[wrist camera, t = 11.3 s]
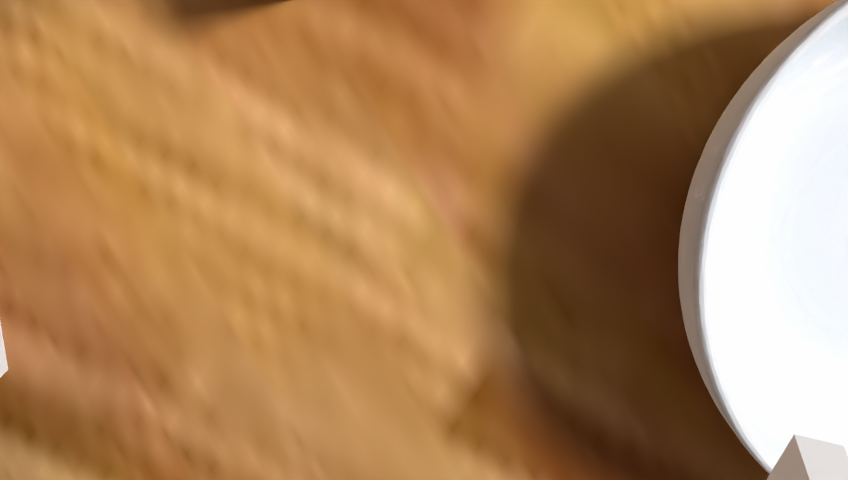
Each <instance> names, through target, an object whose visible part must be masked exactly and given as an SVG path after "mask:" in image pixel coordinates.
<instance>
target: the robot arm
mask: <svg viewBox="0 0 848 480" xmlns="http://www.w3.org/2000/svg"><path fill="white" fill-rule="evenodd" d="M7 370H8V366H7V360H6V354H5V348H4V342H3V336H2V329H1V323H0V378H1V376H2V375H3V374H4V373H5V372H6V371H7ZM766 480H848V455H847V453H846V450H845V448H844V446H842V445H838V444H834V443H830V442H826V441H821V440H817V439H813V438H809V437H804V436H800V435H796V434H794V435H793V437H792V438H791V440H790V442H789V443H788V445H787V447H786V448H785V450H784V452H783V453H782V455H781V456H780V458H779V460H778V461H777V463H776V465H775V466H774V468H773V470H772V471H771V473H770V474H769V476H768V478H767V479H766Z"/></svg>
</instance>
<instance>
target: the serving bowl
mask: <svg viewBox="0 0 848 480" xmlns="http://www.w3.org/2000/svg"><path fill="white" fill-rule="evenodd" d="M678 283H679V296H680V303H681V309H682V315H683V321H684V326H685V330H686V334H687V338H688V342H689V345H690V348H691V351H692V354H693V357H694V360H695V362H696V365H697V367H698V369H699V372H700V374H701V377H702V379H703V381H704V384H705V385H706V387H707V389H708V391H709V393H710V395H711V397H712V399H713V401H714V403H715V404H716V406H717V408H718V409H719V411H720V413H721V414H722V416H723V417H724V419H725V420H726V422H727V423H728V424H729V426H730V427H731V429H732V430H733V432H734V433H735V435H736V436H737V437H738V439H739V440H740V442H741V443H742V444H743V446H744V447H745V448H746V449H747V450H748V452H749V453H750V454H751V455H752V456H753V458H754V459H755V460H756V461H757V462H758V463H759V464H760V465H761V466H762V468H763V469H764V470H765V471H766V472H767V473H769V474H770V473H771V471H772V470H773V468H774V466H775V465H776V463H777V461H778V460H779V458H780V456H781V455H782V453H783V452H784V450H785V448H786V447H787V445H788V443H789V442H790V440H791V438H792V437H793V435H794V434H796V435H800V436H804V437H809V438H813V439H817V440H821V441H826V442H830V443H834V444H838V445H842V446H844V448H845V450H846V453H847V455H848V0H837V1H835V2H834V3H832V4H831V5H829V6H828V7H826V8H825V9H823V10H822V11H820V12H819V13H818V14H816V15H815V16H814V17H812V18H811V19H809V20H808V21H807V22H805V23H804V24H803V25H801V26H800V27H799V28H798V29H796V30H795V31H794V32H793V33H792V34H791V35H790V36H788V37H787V38H786V39H785V40H784V41H783V42H782V43H781V44H779V45H778V46H777V47H776V48H775V49H774V50H773V51H772V52H771V53H770V54H769V55H768V56H767V57H766V58H765V59H764V60H763V61H762V63H761V64H760V65H759V66H758V67H757V68H756V69H755V70H754V71H753V72H752V74H751V75H750V76H749V77H748V79H747V80H746V81H745V82H744V84H743V85H742V86H741V88H740V89H739V90H738V92H737V93H736V94H735V96H734V97H733V99H732V100H731V101H730V103H729V104H728V106H727V107H726V109H725V110H724V112H723V114H722V115H721V117H720V119H719V120H718V122H717V124H716V126H715V128H714V130H713V131H712V133H711V135H710V137H709V139H708V141H707V143H706V145H705V147H704V150H703V152H702V155H701V157H700V159H699V162H698V164H697V167H696V170H695V172H694V175H693V178H692V181H691V184H690V188H689V191H688V195H687V199H686V203H685V208H684V212H683V217H682V223H681V229H680V239H679V251H678Z"/></svg>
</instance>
